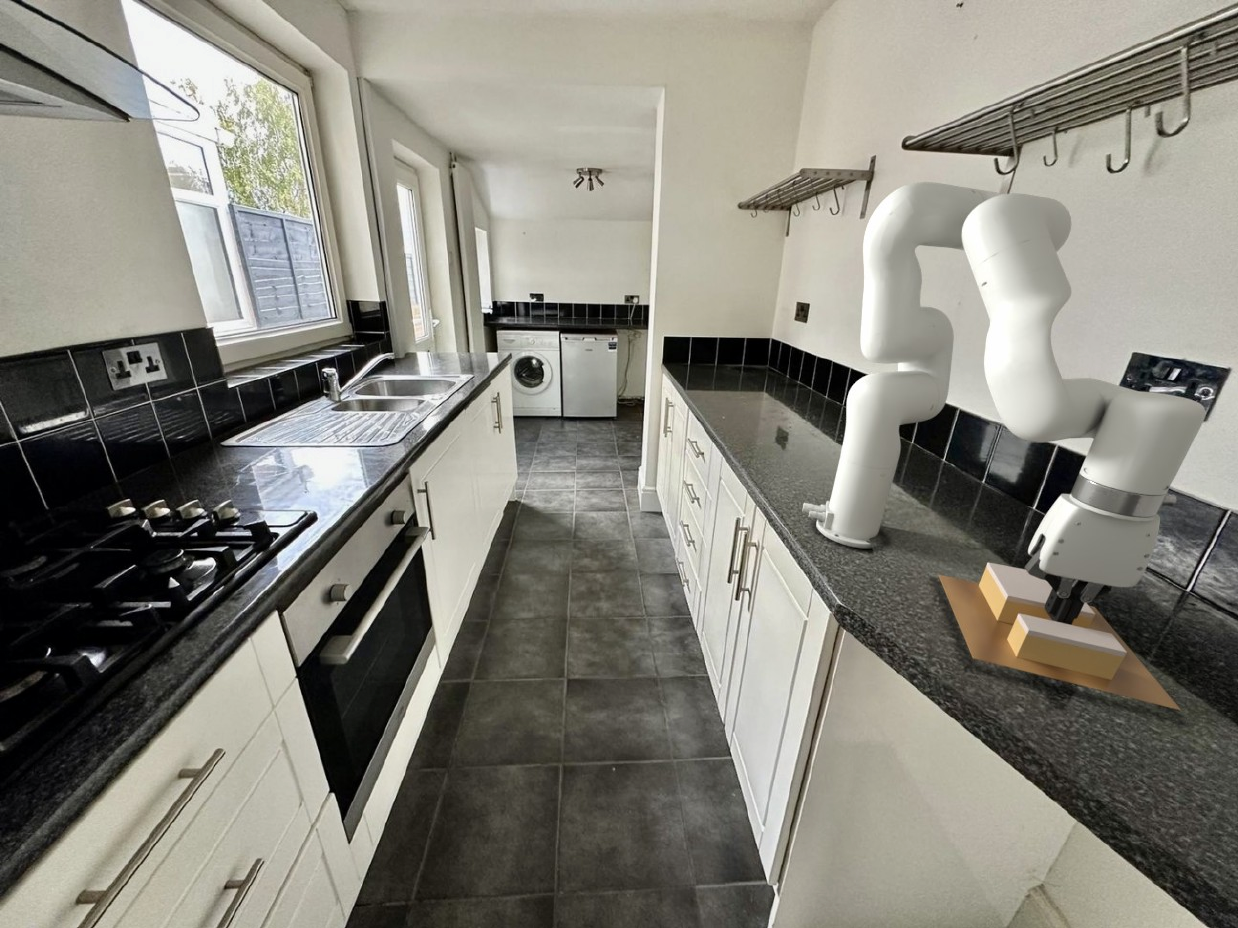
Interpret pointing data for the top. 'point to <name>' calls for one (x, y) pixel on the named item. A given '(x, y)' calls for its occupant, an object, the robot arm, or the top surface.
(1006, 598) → the cake
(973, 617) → the cutting board
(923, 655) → the top surface
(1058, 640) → the cake slice
